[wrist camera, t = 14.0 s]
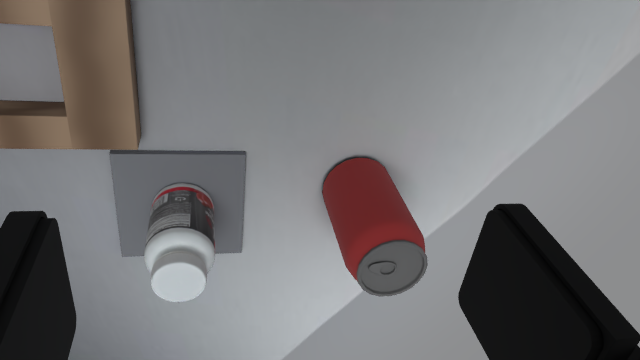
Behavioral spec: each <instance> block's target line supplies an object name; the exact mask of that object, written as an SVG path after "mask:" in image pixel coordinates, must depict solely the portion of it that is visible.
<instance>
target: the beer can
mask: <svg viewBox="0 0 640 360" xmlns="http://www.w3.org/2000/svg"><path fill="white" fill-rule="evenodd" d="M322 193H323V198H324V202H325V205H326V208H327V211H328V214H329V217H330V220H331V223H332V226H333V229H334V232H335V235H336V238H337V241H338V244H339V247H340V250H341V253H342V256H343V259H344V262H345V265H346V267H347V269H348V270H349V272H350V273H351V274H352V276H353V277H354V278H355V280H357V281H358V283H359V285H360V286H361V288H362V289H363V290H364V291H366V292H368V293H369V294H372V295H376V296H392V295H396V294H400V293H402V292H404V291H406V290H408V289H410V288H411V287H413V286H414V285H415V284H416V283H418V282H419V280H420V279H421V278H422V276H423V275H424V273H425V271H426V268H427V256H426V254H425V243H424V238H423V235H422V233H421V231H420V230H419V228H418V226H417V224H416V222H415V221H414V219H413V217H412V215H411V213H410V212H409V210H408V208H407V206H406V204H405V203H404V201H403V199H402V197H401V195H400V194H399V192H398V190H397V188H396V186H395V185H394V183H393V181H392V179H391V177H390V176H389V174H388V172H387V170H386V168H385V167H384V166H383V165H381V164H380V163H379V162H377V161H374V160H371V159H369V158H354V159H350V160H346V161H344V162H343V163H341V164H339V165H337V166H336V167H335V168H334V169H333V170H332V171H331V172H330V173H329V174H328V176H327V178H326V180H325V182H324V185H323V191H322Z"/></svg>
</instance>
